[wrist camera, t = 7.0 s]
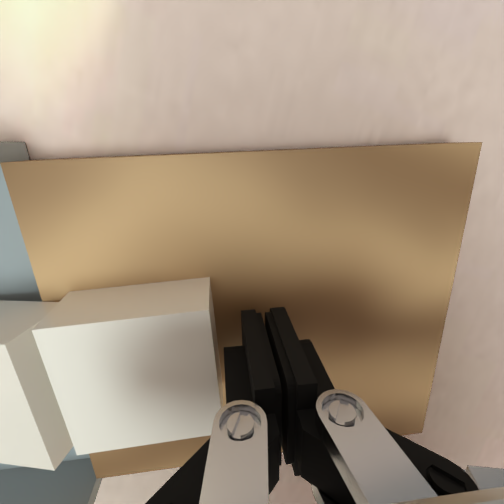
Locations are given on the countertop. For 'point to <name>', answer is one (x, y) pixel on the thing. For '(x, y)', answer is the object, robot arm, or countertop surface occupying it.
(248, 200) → the board
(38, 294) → the tray
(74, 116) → the countertop surface
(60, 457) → the tile
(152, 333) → the tile
